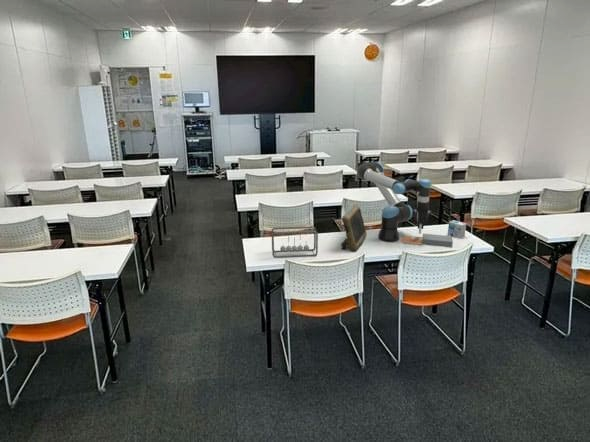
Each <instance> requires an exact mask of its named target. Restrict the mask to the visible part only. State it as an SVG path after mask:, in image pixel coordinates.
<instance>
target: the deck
mask: <svg viewBox="0 0 590 442" xmlns="http://www.w3.org/2000/svg"><path fill="white" fill-rule="evenodd" d="M422 237H423V239H422V245H426V246H437V247H445V248H453V242H454V241H453V237H452V236H449V235H442V234H432V233H422Z"/></svg>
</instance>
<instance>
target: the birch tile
mask: <svg viewBox="0 0 590 442" xmlns="http://www.w3.org/2000/svg"><path fill="white" fill-rule="evenodd" d="M410 236H411V241H415V242H422V239H423V236H417V237H416V236H414V235H410Z"/></svg>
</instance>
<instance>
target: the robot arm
mask: <svg viewBox="0 0 590 442" xmlns="http://www.w3.org/2000/svg"><path fill="white" fill-rule="evenodd" d="M384 169H385V168H384V166H383V164H382V163H381V162H379V161H371V162H366V163H365V162H364V163H362V164H360V165H359V166H358V167H357V170H356V173H357V176H358V177H359V178H360V179H362V180H363V181H368V182H369V181H370V182H372V183H374V184H375V186H376V187H377V189H378V191H379V192H380V194H381V195H382V196H383V198H384V199H385V201H386V203H387V204H388V205H389V206H386V207H384V208H383V209H382V213H381V226H380V230H379V232H378V235H377V238H378V240H380V241H382V242H387V243H393V242H397V241H400V234H399V230H398V228H399V227H398V226H399V225H398V224H400V223H404V222H407V221H409V220H410V219H412V217H413V214H414V220H415V224H416V225H417V229H418V234H422V230H423V229H424V225H427V223H428V220H429V218H430V216H431V215H432V211H431V210H429V205H430V204H429V203H430V195H431V194H430V193H431V187H432V185H431V180H430V179H426V178H424V179H420V180H419V181H418V180H413V179H409V178H408V179H406V180H404V181H403V182H402V181H399V180H397V179H394V178H392V177H389V176H387V175H385V172H384ZM410 192H416V193H418V195H417V203H416V204H417V205H416V208H415V209H413V208H412V207H411V206H410V205H409V204H405V202H404V201H403V200H400V198H399V197H398V195H402V194H405V193H410ZM417 213H418V217H417ZM421 215H422V220H421ZM425 215H427V216H426V217H425Z"/></svg>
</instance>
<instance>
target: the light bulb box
mask: <svg viewBox="0 0 590 442" xmlns="http://www.w3.org/2000/svg"><path fill="white" fill-rule="evenodd" d="M447 227H448V228H447V235H446V236H452V238H456V239H459V238H460V239H463V238H464V237H465V236H466V231H467V230H466V229H467V223H466V222H462V221H458V220H454V219H453V220H450V221H449V222H448V226H447ZM462 237H463V238H462Z"/></svg>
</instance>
